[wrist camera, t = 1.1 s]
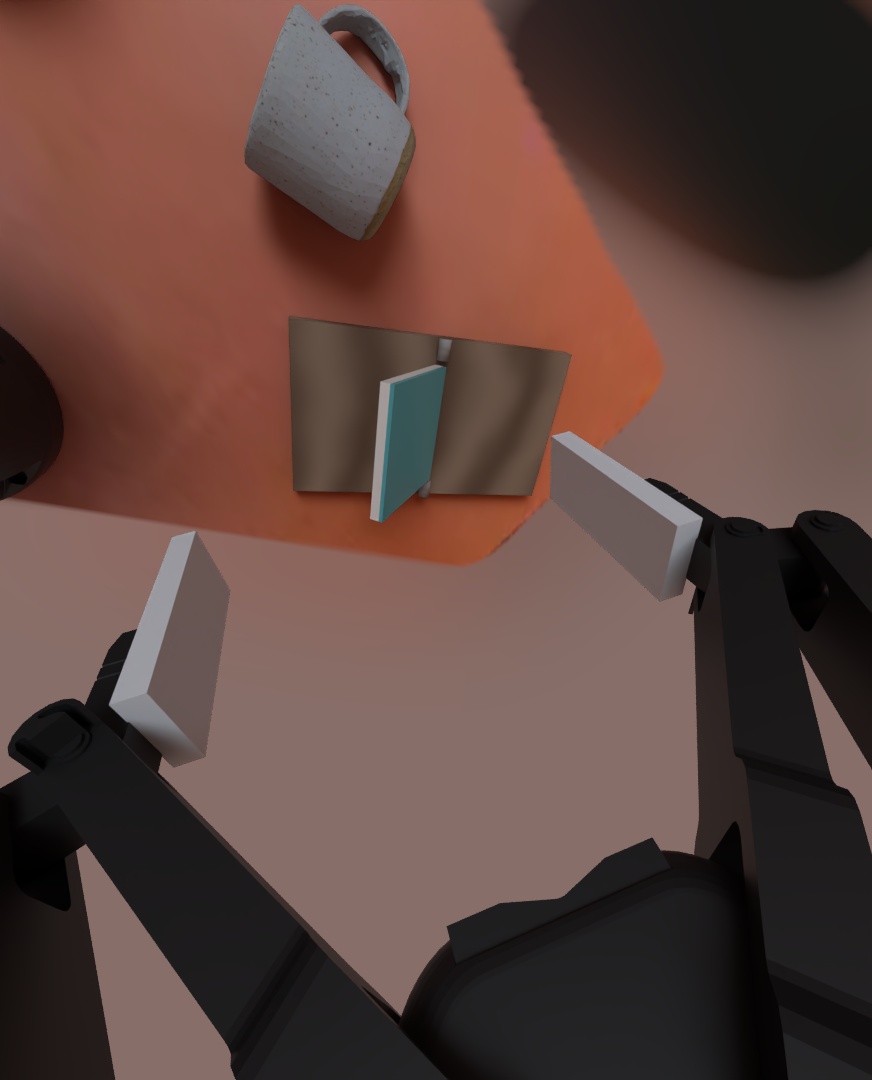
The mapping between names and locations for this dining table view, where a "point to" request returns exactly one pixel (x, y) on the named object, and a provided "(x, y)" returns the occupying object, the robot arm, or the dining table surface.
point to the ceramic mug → (333, 121)
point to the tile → (405, 437)
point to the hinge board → (465, 414)
